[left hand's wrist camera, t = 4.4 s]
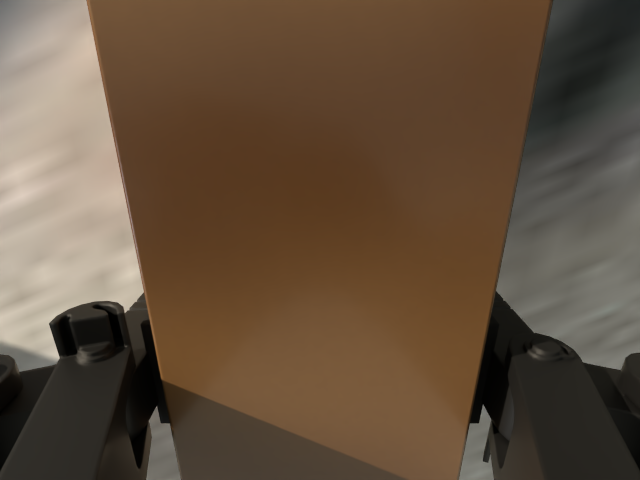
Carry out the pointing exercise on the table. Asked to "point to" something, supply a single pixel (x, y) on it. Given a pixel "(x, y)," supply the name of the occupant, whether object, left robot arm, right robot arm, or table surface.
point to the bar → (319, 219)
